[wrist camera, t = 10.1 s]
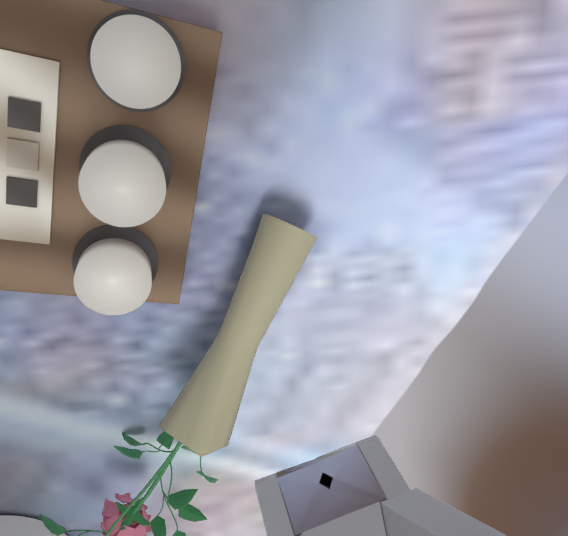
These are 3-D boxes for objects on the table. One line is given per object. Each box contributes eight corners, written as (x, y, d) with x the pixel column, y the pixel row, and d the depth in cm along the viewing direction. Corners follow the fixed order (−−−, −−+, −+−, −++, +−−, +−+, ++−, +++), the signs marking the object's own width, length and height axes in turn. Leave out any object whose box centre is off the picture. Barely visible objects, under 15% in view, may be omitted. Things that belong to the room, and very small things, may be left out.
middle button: (159, 222, 32) (160, 232, 30) (79, 211, 31) (75, 221, 29) (169, 147, 30) (171, 153, 29) (85, 132, 29) (81, 137, 27)
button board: (176, 288, 41) (179, 307, 38) (-11, 271, 36) (-26, 291, 33) (216, 34, 34) (223, 32, 31) (-9, -26, 29) (-27, -35, 26)
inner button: (147, 304, 36) (147, 317, 34) (74, 299, 34) (71, 312, 32) (155, 242, 34) (156, 252, 32) (79, 233, 32) (76, 244, 31)
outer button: (173, 113, 31) (174, 116, 29) (90, 96, 29) (86, 98, 28) (184, 29, 29) (187, 27, 28) (97, 6, 28) (94, 3, 26)
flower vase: (280, 227, 49) (141, 530, 50) (181, 177, 41) (19, 540, 42) (362, 259, 40) (192, 626, 42) (257, 205, 32) (50, 663, 33)
